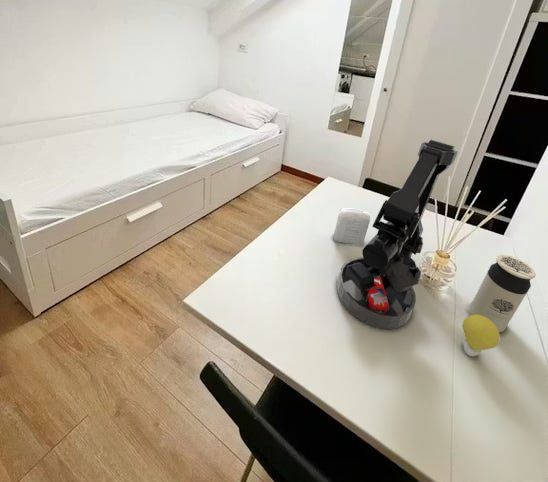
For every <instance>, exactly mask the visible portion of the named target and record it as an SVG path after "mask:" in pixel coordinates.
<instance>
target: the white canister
mask: <svg viewBox="0 0 548 482" xmlns="http://www.w3.org/2000/svg"><path fill="white" fill-rule="evenodd" d="M495 260H496V262H495V263H493V264H491V265H490V267H488V270H487V272H486V274H485V276H484V278H483V280H482V282H481V284H480V286H479V287H478V289H477V292H476V293H475V295H474V298H473V299H472V301H471V303H470V305H469V306H468V307H469V308H468V313H469V316H470V315H475V314H477V315H482V316H485V317H486V318H488V319H490V320H491V321H492V322H493V323H494V324H495V326H496V327H497V329H498V332H499V333H502V332H504V331H505V330H506V328H507V326H508V325H509V323H510V321H511V320H512V318H513V317H514V315H515V314H516V312H517V311H518V309H519V307H520V306H521V304H522V302H523V300H524V298H525V297H526V295H527V293H528V292H529V290H530V289H531V287H532V285H531V284H532V283H531V280H533V279H535V278H536V272H535V270H534V269H533V268H532V267H531V266H530V265H529V264H528V263H526V262H525V261H523V260H521V259H519V257H518V258H517V257H515V256H512V255H508V254H499V255H497V256H496V258H495Z"/></svg>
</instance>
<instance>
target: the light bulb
mask: <svg viewBox="0 0 548 482" xmlns="http://www.w3.org/2000/svg"><path fill="white" fill-rule="evenodd" d="M462 328H463V329H462V330H463V334H464V337H465V339H464V341H463V343H462V345H463V351H464V352H465V354H466V355H468V356H470V357H475V356H479V355H480V353H481V352H482V351H486V350H490V349H494V348H496V347H497V346H498V345H499V343H500V339H501V337H500V336H501V335H500V332H498V329H497V327H496V326H495V324H494V323H493V322H492V321H491V320H490V319H488V318H486V317H485V316H482V315H477V314H475V315H470V314H469V315H468V316H467V317H466V318H464V319H463V322H462Z"/></svg>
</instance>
